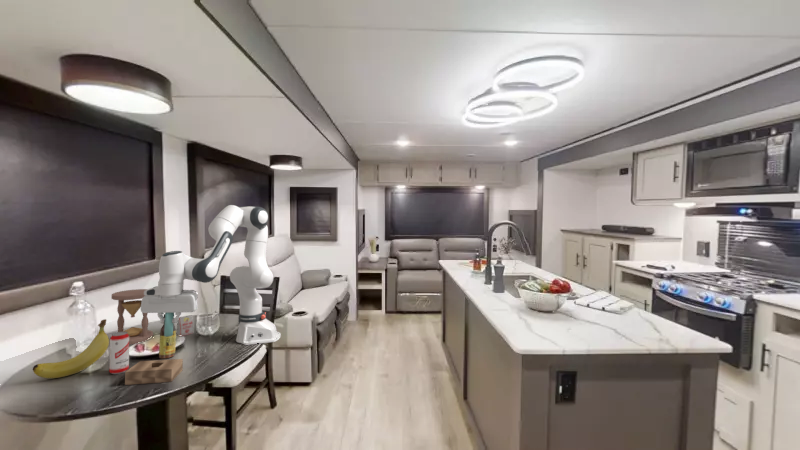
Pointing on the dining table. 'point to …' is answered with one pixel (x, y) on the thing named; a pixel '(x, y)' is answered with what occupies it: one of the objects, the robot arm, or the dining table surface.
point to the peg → (168, 324)
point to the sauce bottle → (167, 343)
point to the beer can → (119, 353)
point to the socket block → (154, 371)
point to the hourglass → (132, 314)
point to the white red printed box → (185, 325)
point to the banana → (76, 358)
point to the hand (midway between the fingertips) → (169, 323)
